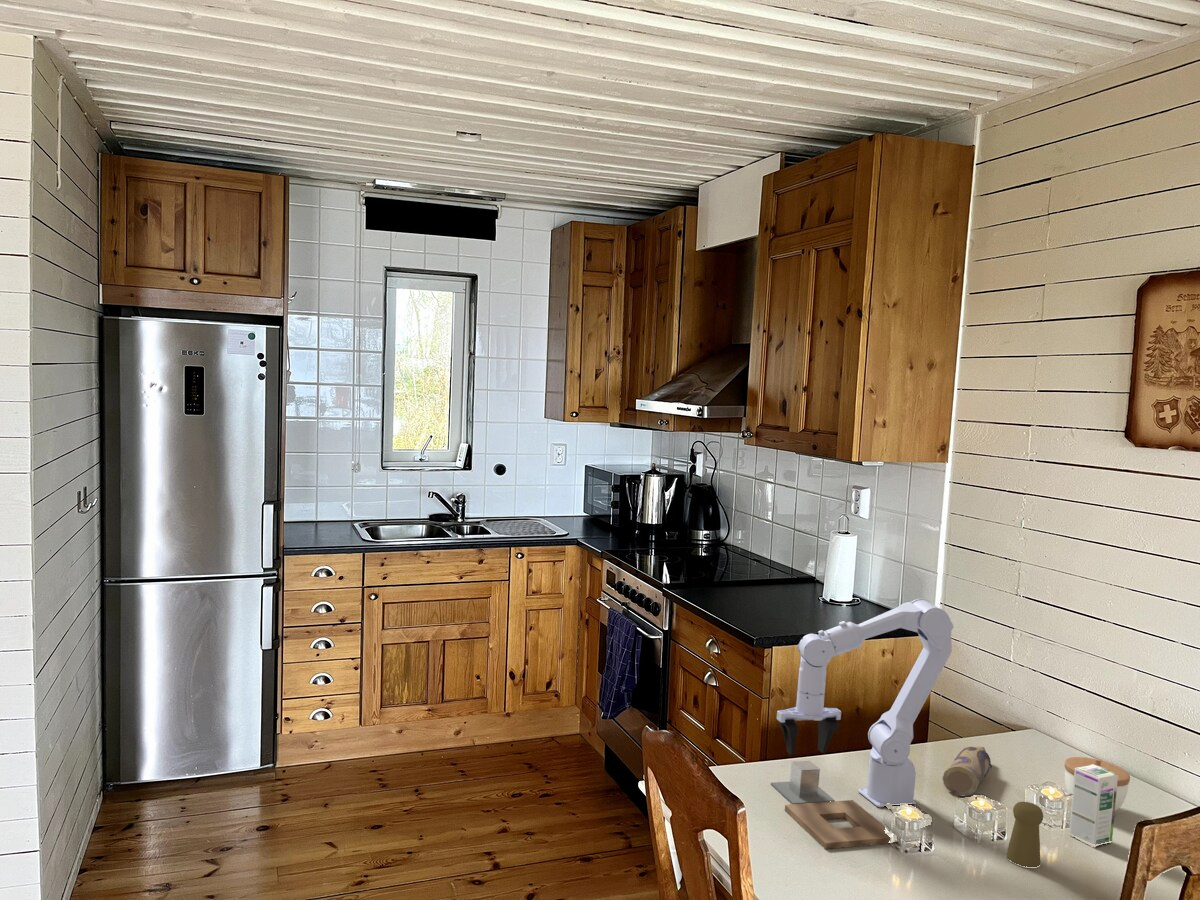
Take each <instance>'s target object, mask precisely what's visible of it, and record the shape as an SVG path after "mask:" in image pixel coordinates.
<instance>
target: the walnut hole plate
mask: <svg viewBox="0 0 1200 900" xmlns="http://www.w3.org/2000/svg"><path fill="white" fill-rule="evenodd" d="M784 811H785V812H786V813H787V814H788V815H789V816H790V817H791V818H792V819H793V820H794V821H795V822H796V823H797V824H798V825H799V826H800V827H801V828H802V829H804V831H805V832H806V833H808V835H810V836H811V837H812V838H813V839H814V840H815V841H816V842H817V843H818V844H819V845H820V844H821V845H822V846H823V847H824V848H823V847H822V848H823V849H824V850H831V849H830V848H833V849H841V847H845V848H852V847H851V846H856V847H863V846H862V845H867V846H872V845H871V844H879V845H886V844H885V843H888V842H889V840H890V837H889V836H888V835H887V834H885V831H884V830H885V827H886V826H885V825H884V824H883V823H882V822H880V821H879V820H878V819H877V818H876V817H874V816H873V815H871V813H869V812H868V811H867V810H866V809H865V808H863V807H862V806H860V805H859V804H858V803H857V802H856V801H854V799H850V800H849V799H848V800H837V801H836V800H835V801H832V802H817V803H803V804H791V803H790V804H784ZM833 818H840V819H845V820H846V819H847V820H848V821H849V822H850V825H852V826H851V827H850V826H849V827H840V828H839V827H838V828H836V827H834V826H833V825H832V824H831V823H829V822H828V821H827V820H834V819H833ZM825 819H827V820H825ZM847 820H846V821H847ZM848 821H847V822H848ZM849 822H848V823H849ZM860 845H861V846H860Z"/></svg>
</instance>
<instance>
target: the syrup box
mask: <svg viewBox="0 0 1200 900" xmlns="http://www.w3.org/2000/svg"><path fill="white" fill-rule="evenodd" d="M1117 781H1118V775H1117V774H1116V773H1114V772H1112V771H1110V770H1107V769H1105V768H1102V767H1100V766H1096V765H1093V764H1092V765H1089V766H1084V767H1079V768H1078V767H1077V768H1075V773H1074V784H1073V795H1072V800H1071V808H1070V819H1069V821H1070V822H1069V830H1068V834H1069V833H1071V834H1073V835H1074V836H1077V837H1079V838H1081V839H1083V840H1085V841H1087V842H1090V843H1092V844H1095V845H1096V844H1101V843H1105V842H1109V841H1112V842H1113V836H1114V835H1113V834H1114V821H1115V813H1116V812H1115V803H1116V792H1117Z"/></svg>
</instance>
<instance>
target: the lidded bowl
mask: <svg viewBox="0 0 1200 900" xmlns="http://www.w3.org/2000/svg"><path fill="white" fill-rule="evenodd" d="M1092 764H1093V765H1096V766H1100V767H1102V768H1105V769H1107V770H1110V771H1112V772H1114V773H1116V774H1117V775H1118V781H1117V792H1116V803H1115V811H1117V810H1119V809H1120V808H1121V807H1122V806H1123V804H1124V803H1125V800H1126V799H1127V795H1128V791H1129V785H1130V780H1131V776H1130V774H1129V772H1127V770H1125V769H1124V768H1122V767H1120V766H1118V765H1116V764H1114V763H1111V762H1108V761H1105V760H1101V759H1099V758H1092V757H1085V756H1074V757H1072V756H1071V757H1069V758H1066V759H1065V761H1064V773H1063V774H1064V777H1063V778H1064V787H1065V791H1066V793H1067V794H1068V793H1072V794H1073V784H1074V773H1075V768H1077V767H1078V768H1079V767H1084V766H1089V765H1092Z"/></svg>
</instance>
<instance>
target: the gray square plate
mask: <svg viewBox="0 0 1200 900" xmlns="http://www.w3.org/2000/svg"><path fill="white" fill-rule="evenodd" d="M770 785H771V786H772V788H774V789H775V790H776V791H777V792H778V793H779V794H780V795H781V796H782V797H784V798H785V799H786V800H787V801H788V802H789V803H790V804H803V803H817V802H830V801H831V802H832V801H836V800H835V799H834V798H833V797H832V796H830V794H828V793H827V792H826V791H825V790H823V789H822V788H821V787H820V786H818V796H814V797H798V796H797V795H796V794H795V793H794V792H793V791H792V790H790V789H789V786H790V781H775V782H770Z"/></svg>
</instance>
